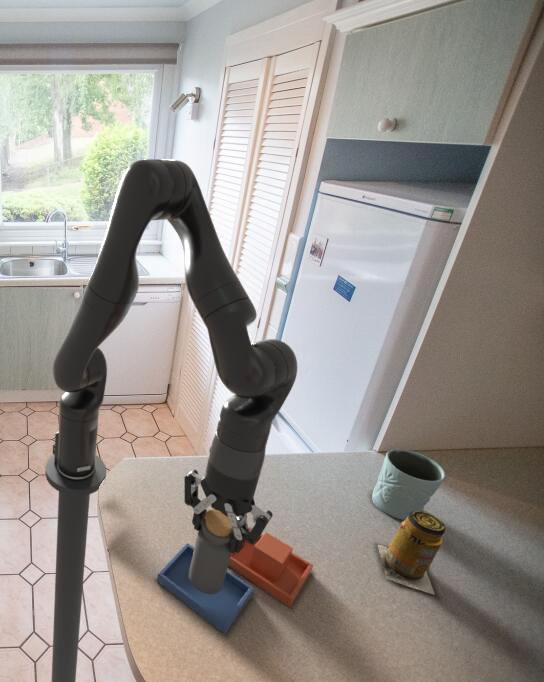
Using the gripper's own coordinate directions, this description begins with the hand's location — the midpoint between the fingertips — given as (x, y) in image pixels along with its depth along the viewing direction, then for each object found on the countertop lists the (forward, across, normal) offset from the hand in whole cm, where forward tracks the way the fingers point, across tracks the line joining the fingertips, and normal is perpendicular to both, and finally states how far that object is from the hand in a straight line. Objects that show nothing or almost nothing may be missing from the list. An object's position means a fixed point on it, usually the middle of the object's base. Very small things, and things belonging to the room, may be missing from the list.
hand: (215, 538), depth 77 cm
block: (+12, -6, -13) cm, 19 cm away
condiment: (+13, -24, -32) cm, 42 cm away
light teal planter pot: (+13, -19, -50) cm, 55 cm away
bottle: (+11, 0, 0) cm, 11 cm away
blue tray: (+13, 0, 0) cm, 13 cm away
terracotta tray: (+13, -6, -13) cm, 19 cm away
